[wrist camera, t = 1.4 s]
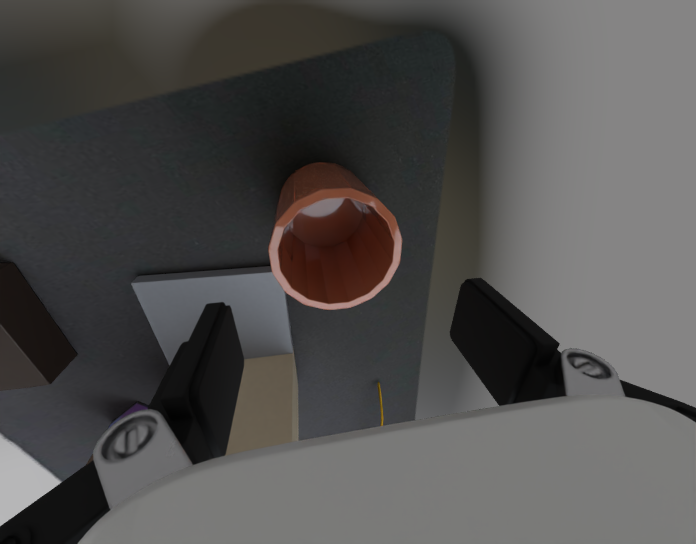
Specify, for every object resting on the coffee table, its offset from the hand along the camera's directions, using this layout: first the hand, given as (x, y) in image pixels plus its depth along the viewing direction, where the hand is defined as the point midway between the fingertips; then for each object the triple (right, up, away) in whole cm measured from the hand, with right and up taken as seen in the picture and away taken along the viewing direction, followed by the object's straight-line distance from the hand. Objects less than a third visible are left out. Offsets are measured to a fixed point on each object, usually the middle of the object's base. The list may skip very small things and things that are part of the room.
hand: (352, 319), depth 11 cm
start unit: (-30, -2, +12) cm, 32 cm away
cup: (-2, +7, +12) cm, 14 cm away
